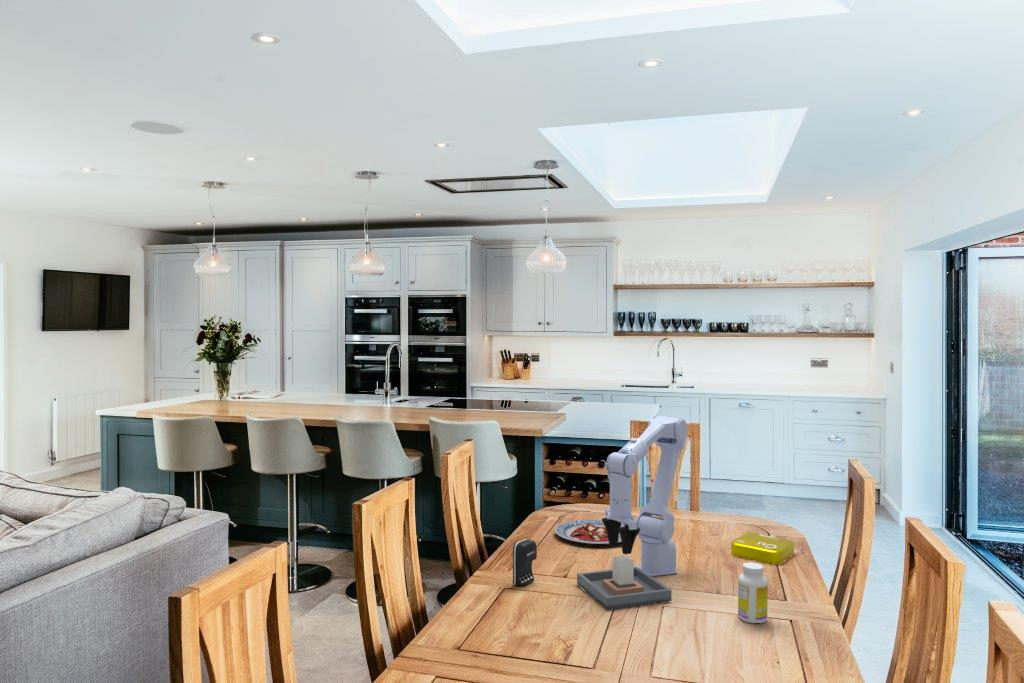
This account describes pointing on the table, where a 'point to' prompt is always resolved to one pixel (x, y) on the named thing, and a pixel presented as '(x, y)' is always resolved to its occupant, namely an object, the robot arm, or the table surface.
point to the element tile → (762, 548)
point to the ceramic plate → (584, 531)
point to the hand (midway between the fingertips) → (620, 549)
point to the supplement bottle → (752, 594)
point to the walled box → (623, 589)
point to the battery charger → (523, 561)
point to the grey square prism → (623, 571)
